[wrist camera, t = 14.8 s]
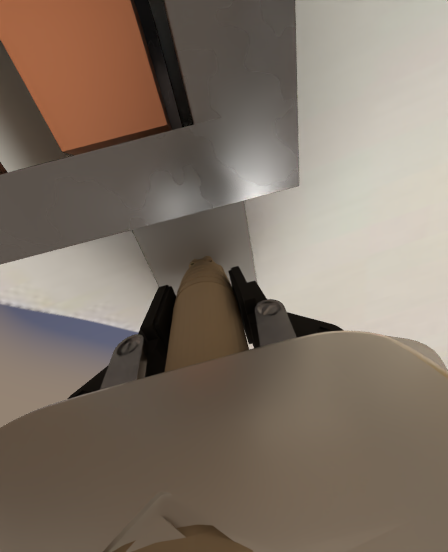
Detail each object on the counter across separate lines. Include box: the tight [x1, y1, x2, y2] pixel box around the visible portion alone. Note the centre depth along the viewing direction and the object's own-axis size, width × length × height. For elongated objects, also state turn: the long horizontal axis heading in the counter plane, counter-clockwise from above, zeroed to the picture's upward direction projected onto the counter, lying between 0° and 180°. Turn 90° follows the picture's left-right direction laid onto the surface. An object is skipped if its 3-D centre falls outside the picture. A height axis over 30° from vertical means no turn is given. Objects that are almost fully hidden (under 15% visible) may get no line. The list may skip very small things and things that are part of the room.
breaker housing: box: [0, 0, 299, 264], centre depth 8 cm, size 14×16×8 cm
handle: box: [113, 256, 253, 552], centre depth 9 cm, size 5×6×15 cm
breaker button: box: [0, 0, 172, 155], centre depth 9 cm, size 6×6×3 cm
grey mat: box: [132, 200, 257, 296], centre depth 17 cm, size 10×10×1 cm
